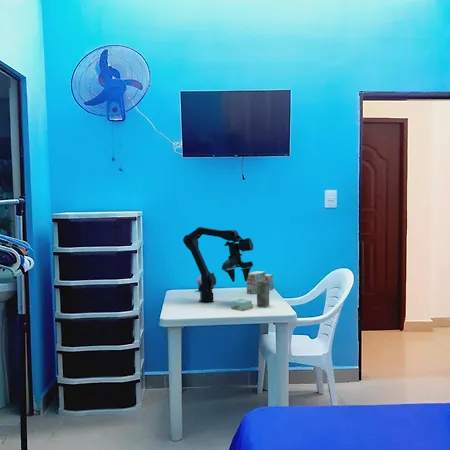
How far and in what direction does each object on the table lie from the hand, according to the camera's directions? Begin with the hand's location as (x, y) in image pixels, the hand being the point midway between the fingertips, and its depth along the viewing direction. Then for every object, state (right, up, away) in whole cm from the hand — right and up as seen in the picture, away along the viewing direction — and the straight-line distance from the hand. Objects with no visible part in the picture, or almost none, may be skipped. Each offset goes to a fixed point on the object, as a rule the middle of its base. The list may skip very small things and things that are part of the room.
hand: (239, 281), depth 249 cm
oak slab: (+1, -13, -11) cm, 17 cm away
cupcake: (-21, -11, +40) cm, 46 cm away
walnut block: (+12, -12, -6) cm, 18 cm away
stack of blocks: (+14, -11, +35) cm, 39 cm away
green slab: (+1, -11, -11) cm, 15 cm away
